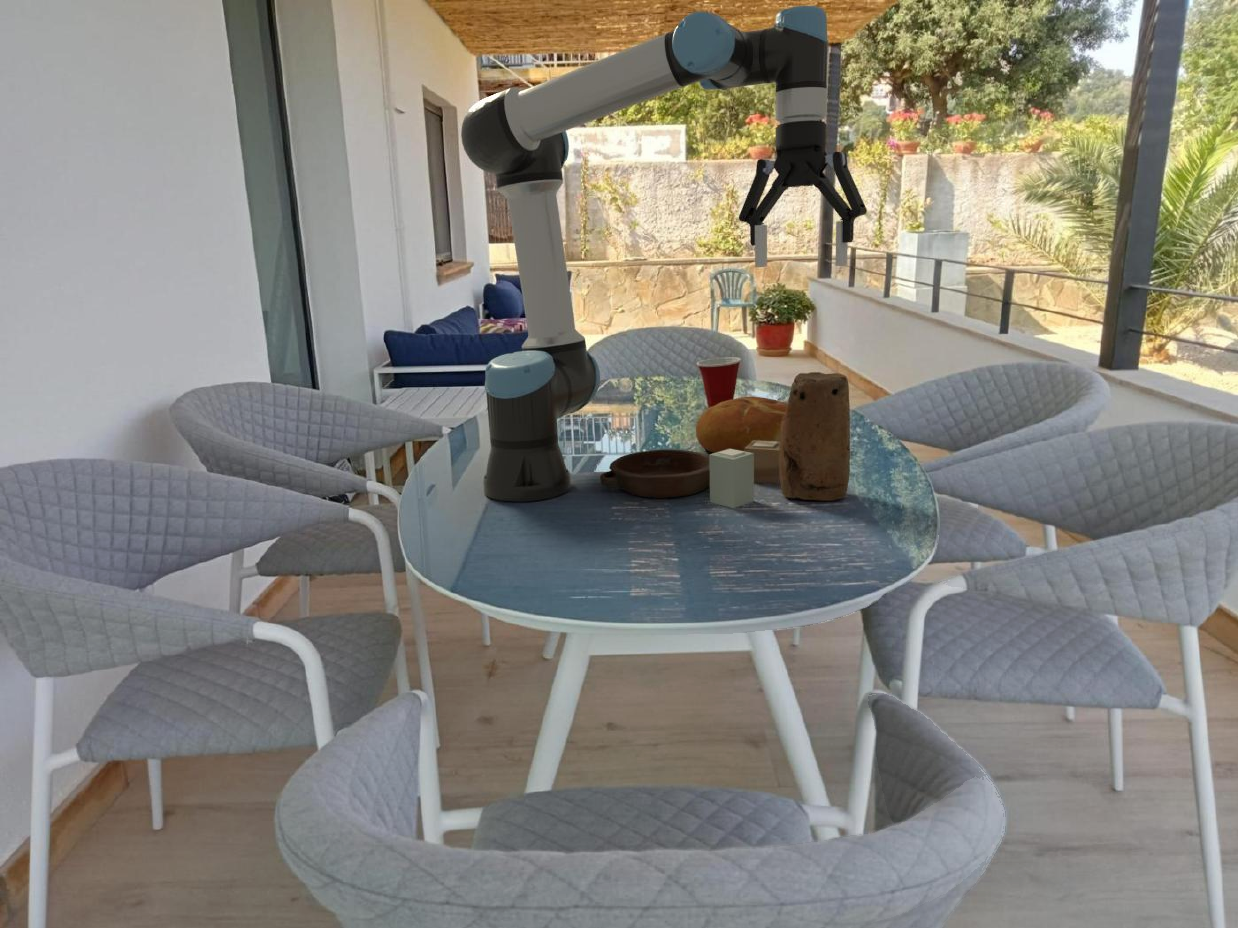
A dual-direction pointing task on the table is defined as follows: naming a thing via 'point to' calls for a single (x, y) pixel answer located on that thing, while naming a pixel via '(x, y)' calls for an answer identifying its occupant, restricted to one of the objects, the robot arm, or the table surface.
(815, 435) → the brown pitted rock
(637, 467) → the dish
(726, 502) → the grey-green post
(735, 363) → the plastic cup
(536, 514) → the table surface
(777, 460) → the walnut cube
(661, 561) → the table surface
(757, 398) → the bread
